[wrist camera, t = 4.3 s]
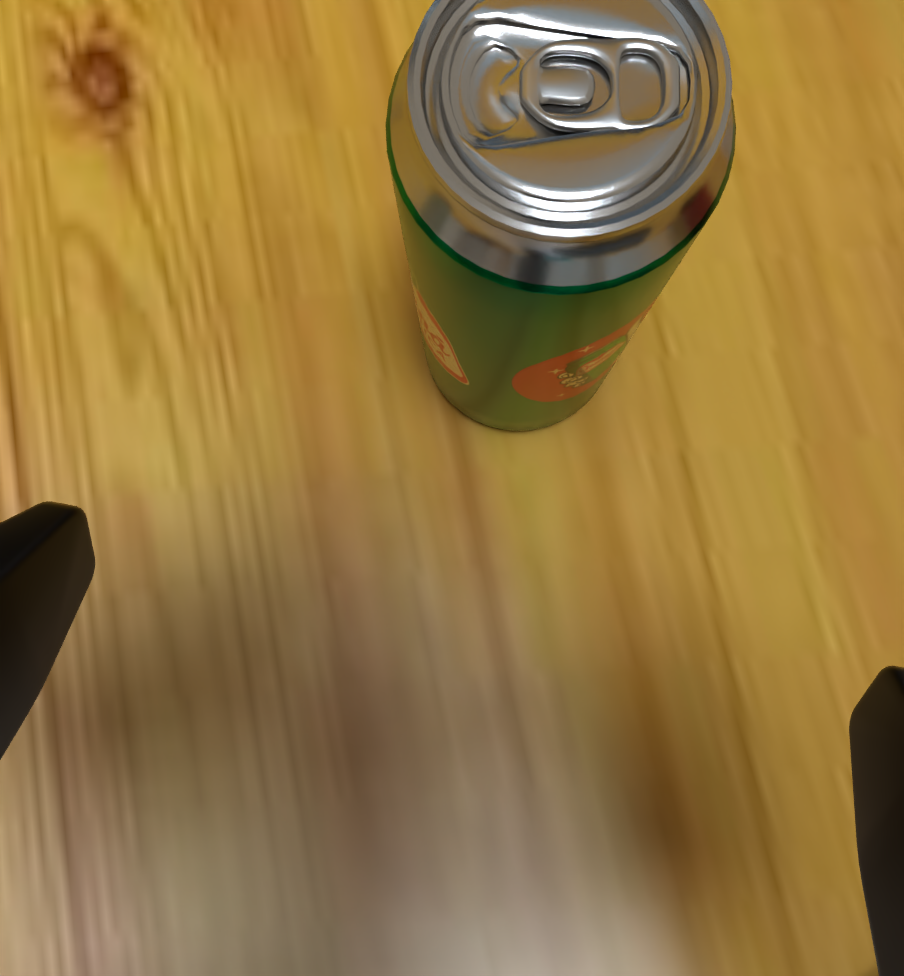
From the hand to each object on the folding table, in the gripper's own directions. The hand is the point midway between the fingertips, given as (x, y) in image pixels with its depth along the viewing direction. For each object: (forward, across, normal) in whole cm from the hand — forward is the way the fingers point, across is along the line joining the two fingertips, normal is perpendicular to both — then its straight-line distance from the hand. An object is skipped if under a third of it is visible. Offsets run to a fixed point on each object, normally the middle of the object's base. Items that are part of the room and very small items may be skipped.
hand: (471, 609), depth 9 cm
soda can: (+14, 0, +4) cm, 15 cm away
